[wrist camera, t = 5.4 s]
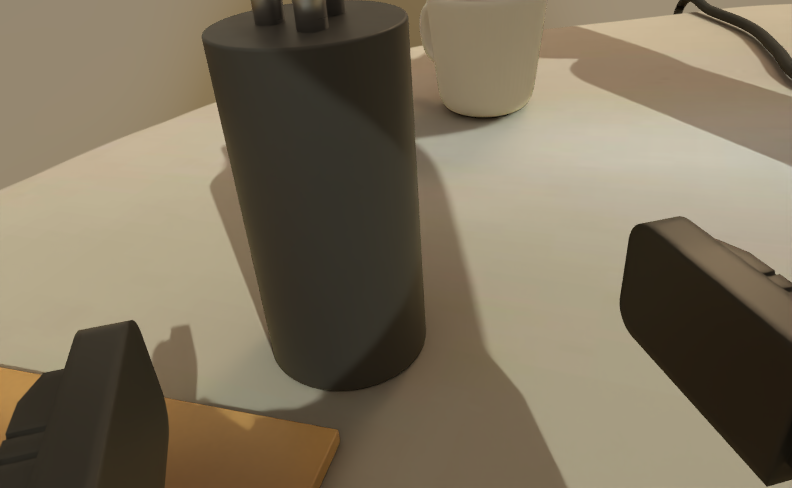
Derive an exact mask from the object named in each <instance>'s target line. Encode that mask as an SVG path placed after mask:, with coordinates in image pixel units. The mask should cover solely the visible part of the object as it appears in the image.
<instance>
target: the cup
mask: <svg viewBox="0 0 792 488" xmlns="http://www.w3.org/2000/svg"><path fill="white" fill-rule="evenodd" d="M546 6H547V0H426V4H425V5H424V7H423V8H422V11H421V15H420V33H421V39H422V44H423V47H424V50H425V52H426V54H427V56H428V57H429V58H430V59H431V60H432V61H433V62H435V69H436V76H437V83H438V89H439V93H440V97H441V99H442V101H443V103H444V105H445V106H446V107H447V108H448V109H450V110H451V111H453V112H456V113H458V114H461V115H466V116H472V117H494V116H501V115H506V114H510V113H513V112H515V111H517V110H519V109H521V108H522V107H524V106H525V105H526V104H527V103H528V101H529V100H530V98H531V95H532V92H533V89H534V84H535V79H536V72H537V65H538V59H539V52H540V46H541V39H542V33H543V26H544V20H545V13H546Z"/></svg>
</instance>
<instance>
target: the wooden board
mask: <svg viewBox="0 0 792 488" xmlns="http://www.w3.org/2000/svg"><path fill="white" fill-rule="evenodd" d="M40 376H41V375H40V374H35V373H29V372H24V371H18V370H13V369H8V368H2V367H0V446H1V444H2V441H3V440H6V435H5V433H6V431H7V428H8V425H9V423H10V420H11V418H12V415H13V412H14V410H15V407H16V404H17V402H18V401H19V400H20V399H21V398H22V397H23V396H24V394H25V393H26V392H27V391H28V390H29V389H30V388H31V386H32V385H33V384H34V383H35V382H36V381H37V380H38V378H39V377H40ZM164 399H165V403H166V407H167V413H168V421H169V443H168V454H167V465H166V477H165V488H320V486H321V483H322V481H323V479H324V477H325V474H326V472H327V470H328V468H329V466H330V463H331V461H332V459H333V457H334V454H335V452H336V450H337V448H338V445H339V443H340V438H339V432H338V430H337V429H331V428H326V427H321V426H315V425H310V424H304V423H299V422H294V421H288V420H283V419H277V418H272V417H267V416H261V415H256V414H250V413H245V412H240V411H234V410H229V409H223V408H218V407H213V406H207V405H202V404H196V403H191V402H186V401H180V400H175V399H169V398H164Z"/></svg>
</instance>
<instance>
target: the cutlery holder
mask: <svg viewBox="0 0 792 488" xmlns="http://www.w3.org/2000/svg"><path fill="white" fill-rule="evenodd" d="M292 3H293V4H285V5H283V2H282V0H251V5H252V11H249V12H245V13H241V14H237V15H234V16H231V17H228V18H225V19H223V20H220V21H218V22H216V23H214V24H212V25H211V26H209V27H208V28H206V30H204V32H203V34H202V41H203V45H204V50H205V54H206V59H207V63H208V67H209V72H210V76H211V80H212V85H213V89H214V94H215V98H216V102H217V107H218V111H219V116H220V120H221V124H222V129H223V133H224V137H225V142H226V146H227V151H228V155H229V159H230V164H231V168H232V173H233V177H234V181H235V186H236V190H237V194H238V199H239V203H240V208H241V212H242V216H243V221H244V225H245V229H246V234H247V238H248V243H249V247H250V251H251V256H252V260H253V264H254V269H255V273H256V278H257V282H258V286H259V291H260V295H261V300H262V304H263V308H264V313H265V317H266V321H267V326H268V330H269V335H270V339H271V343H272V348H273V352H274V356H275V359H276V361H277V363H278V365H279V366H280V367H281V369H282V370H283V371H284V372H285V373H286V374H287V375H288V376H290V377H291V378H293V379H294V380H296V381H298V382H300V383H302V384H304V385H307V386H310V387H314V388H318V389H323V390H335V391H344V390H355V389H360V388H365V387H369V386H373V385H376V384H379V383H381V382H384V381H386V380H388V379H390V378H392V377H394V376H396V375H397V374H399V373H400V372H402V371H403V370H404V369H405V368H407V367H408V366H409V365H410V364H411V363H412V362H413V361H414V360H415V359H416V357H417V356H418V354H419V353H420V351H421V349H422V347H423V345H424V341H425V335H426V326H425V308H424V291H423V273H422V255H421V237H420V219H419V201H418V183H417V165H416V147H415V129H414V112H413V94H412V76H411V58H410V40H409V23H408V15H407V13H406V11H405V10H403V9H402V8H400V7H397V6H395V5H391V4H387V3H381V2H374V1H362V0H292Z"/></svg>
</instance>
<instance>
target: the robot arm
mask: <svg viewBox="0 0 792 488" xmlns="http://www.w3.org/2000/svg"><path fill="white" fill-rule="evenodd" d="M689 2H692V3H694V4H695V5H696V6H697V7H698V8H699V9H700V10H701V11H703V12H704V13H706V14H707V15H710V16H712V17H714V18H717V19H720V20H722V21H725V22H727V23H730V24H732V25H735V26H737V27H739V28H741V29H743V30H745V31H747V32H749V33H750V34H752V35H753V36H754V37H755V38H757V39H758V40H759V41H760V42H761V43H762V45H763V46H764V47H765V48H766V49H767V50H768V51H769V52H770V53H771V54H772V55H773V57H774V58H775V59H776V61H777V62H778V64H779V66H780V67H781V69H782V70H783V71H784V72H785V73H786V74H787V75H788V76H789V77H790V78H791V79H792V58H791V57H790V55H789V54H788V53H787V51H786V50H785V49H784V48H783V47H782V46H781V45H780V44H779V43H778V42H777V41H776V40H775V39H774V38H773V37H772V36H771V35H770V34H769V33H768V32H767V31H765V30H764V29H763V28H761V27H760V26H758V25H756V24H755V23H753V22H751V21H749V20H747V19H745V18H743V17H740V16H738V15H735V14H733V13H730V12H727V11H724V10H722V9H719V8H716V7H714V6H711V5H710V4H708V3H707V2H706V1H705V0H680V1H679V2H678V4H677V6H676V8H675V11H674V14H682V13H683V10H684V8H685V6H686V5H687V3H689ZM674 14H673V15H674ZM620 311H621V316H622V319H623V322H624V324H625V326H626V328H627V330H628V332H629V333H630V334H631V336H632V337H633V338H634V339H635V340H636V341H637V342H638V344H639V345H640V346H641V347H642V348H643V349H644V350H645V351H646V352H647V354H648V355H649V356H650V357H651V358H652V359H653V360H654V361H655V363H656V364H657V365H658V366H659V367H660V368H661V369H662V370H663V371H664V373H665V374H666V375H667V376H668V377H669V378H670V379H671V380H672V381H673V383H674V384H675V385H676V386H677V387H678V388H679V389H680V390H681V391H682V393H683V394H684V395H685V396H686V397H687V398H688V399H689V400H690V401H691V403H692V404H693V405H694V406H695V407H696V408H697V409H698V410H699V412H700V413H701V414H702V415H703V416H704V417H705V418H706V419H707V420H708V422H709V423H710V424H711V425H712V426H713V427H714V428H715V429H716V430H717V432H718V433H719V434H720V435H721V436H722V437H723V438H724V439H725V440H726V442H727V443H728V444H729V445H730V446H731V447H732V448H733V449H734V451H735V452H736V453H737V454H738V455H739V456H740V457H741V458H742V459H743V461H744V462H745V463H746V464H747V465H748V466H749V467H750V468H751V469H752V471H753V472H754V473H755V474H756V475H757V476H758V477H759V478H760V479H761V481H762V482H763V483H764V484H765V485H766V486H771V485H774V484H778V483H781V482H785V481H788V480H792V283H791V282H790V281H789V280H787V279H786V278H784V277H783V276H782V275H780V274H779V275H776V274H775V270H773V269H772V268H770V267H769V266H768V265H766V264H765V263H763V262H762V261H760V260H759V259H758V258H756V257H755V256H753V255H752V254H751V253H749V252H747V251H744V250H742V249H739V248H737V247H735V246H732V245H730V244H727V243H725V242H722V241H720V240H717V239H715V238H713V237H712V236H711V235H709V234H708V233H706V232H705V231H704V230H702V229H701V228H700V227H698V226H697V225H696V224H694V223H693V222H691V221H690V220H689V219H687V218H685V217H680V216H679V217H673V218H668V219H663V220H658V221H653V222H647V223H642V224H638V225H636V226H635V227H634V228H633V229H632V231H631V233H630V236H629V242H628V248H627V255H626V262H625V268H624V275H623V281H622V288H621V295H620ZM5 435H6V440H3V441H2V444H1V446H0V488H165V477H166V465H167V454H168V443H169V421H168V413H167V407H166V403H165V399H164V395H163V392H162V390H161V387H160V384H159V381H158V379H157V376H156V373H155V370H154V367H153V365H152V362H151V359H150V356H149V353H148V351H147V348H146V345H145V342H144V340H143V337H142V334H141V331H140V329H139V327H138V325H137V324H136V322H135V321H133V320H130V321H125V322H120V323H115V324H109V325H104V326H99V327H94V328H89V329H83V330H79V331H78V332H77V333H76V334H75V337H74V340H73V343H72V346H71V349H70V352H69V356H68V359H67V362H66V365H65V368H64V369H61V370H56V371H51V372H46V373H43V374H42V375H41V376H40V377H39V378H38V380H37V381H36V382H35V383H34V384H33V385H32V386H31V388H30V389H29V390H28V391H27V392H26V393H25V394H24V396H23V397H22V398H21V399H20V400H19V401H18V402H17V404H16V407H15V410H14V412H13V415H12V418H11V420H10V423H9V425H8V428H7V431H6V433H5Z"/></svg>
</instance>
